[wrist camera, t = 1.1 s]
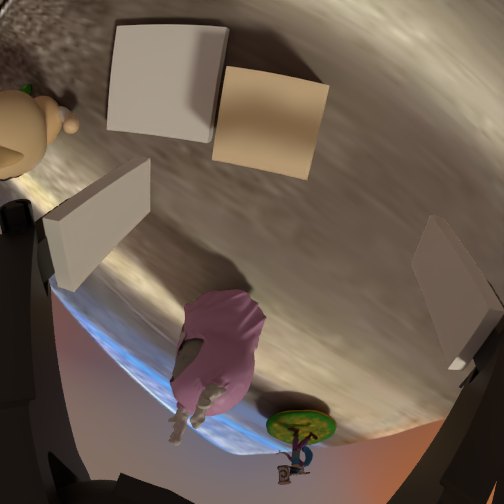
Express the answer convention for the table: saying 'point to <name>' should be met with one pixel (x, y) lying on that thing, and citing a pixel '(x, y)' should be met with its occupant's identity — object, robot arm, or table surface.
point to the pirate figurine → (299, 436)
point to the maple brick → (269, 121)
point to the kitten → (29, 129)
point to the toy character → (214, 356)
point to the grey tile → (166, 80)
